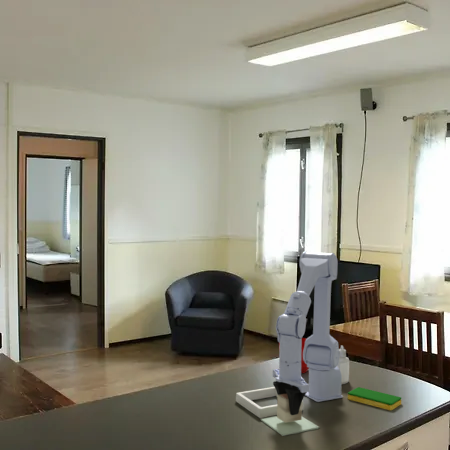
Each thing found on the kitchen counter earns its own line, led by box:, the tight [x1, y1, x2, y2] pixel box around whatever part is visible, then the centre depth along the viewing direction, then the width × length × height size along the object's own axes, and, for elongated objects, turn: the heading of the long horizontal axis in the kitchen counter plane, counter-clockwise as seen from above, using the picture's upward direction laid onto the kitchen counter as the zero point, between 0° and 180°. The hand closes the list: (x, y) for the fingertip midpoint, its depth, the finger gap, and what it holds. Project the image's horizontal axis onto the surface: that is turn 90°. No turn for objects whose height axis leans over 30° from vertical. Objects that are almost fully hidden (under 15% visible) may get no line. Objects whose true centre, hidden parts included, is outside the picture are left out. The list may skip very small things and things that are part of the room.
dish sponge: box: [347, 386, 402, 411], centre depth 168 cm, size 7×14×2 cm, turn 50°
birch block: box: [276, 394, 303, 423], centre depth 150 cm, size 5×4×6 cm
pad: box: [260, 415, 320, 437], centre depth 150 cm, size 11×11×1 cm
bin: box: [235, 386, 304, 419], centre depth 163 cm, size 14×14×2 cm
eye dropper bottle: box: [337, 345, 350, 385], centre depth 184 cm, size 4×6×12 cm
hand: (289, 411), depth 150 cm, fingers closed on birch block, 4 cm apart
